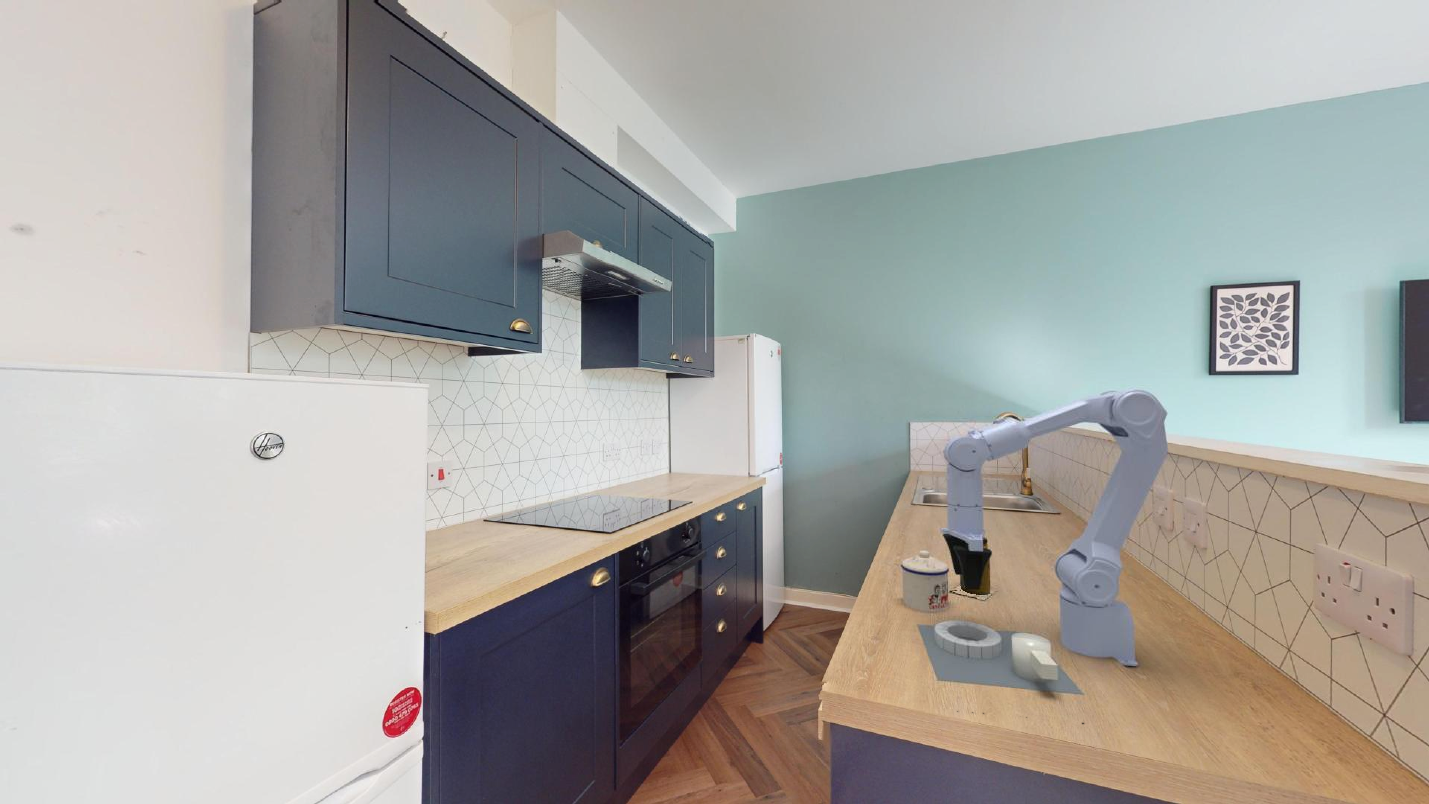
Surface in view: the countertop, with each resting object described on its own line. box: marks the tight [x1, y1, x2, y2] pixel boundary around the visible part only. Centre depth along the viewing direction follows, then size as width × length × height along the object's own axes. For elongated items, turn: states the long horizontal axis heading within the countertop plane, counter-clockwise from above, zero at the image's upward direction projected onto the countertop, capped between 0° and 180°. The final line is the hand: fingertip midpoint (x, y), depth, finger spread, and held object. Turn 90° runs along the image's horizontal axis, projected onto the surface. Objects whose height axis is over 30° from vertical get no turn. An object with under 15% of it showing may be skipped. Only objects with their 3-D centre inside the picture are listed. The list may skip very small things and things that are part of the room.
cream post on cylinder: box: [1012, 632, 1059, 682], centre depth 76 cm, size 9×5×5 cm, turn 168°
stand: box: [916, 619, 1085, 696], centre depth 84 cm, size 19×20×3 cm
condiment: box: [949, 536, 998, 601], centre depth 115 cm, size 7×8×12 cm
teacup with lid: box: [900, 550, 950, 613], centre depth 106 cm, size 12×9×12 cm
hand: (966, 581), depth 91 cm, fingers open, 7 cm apart
